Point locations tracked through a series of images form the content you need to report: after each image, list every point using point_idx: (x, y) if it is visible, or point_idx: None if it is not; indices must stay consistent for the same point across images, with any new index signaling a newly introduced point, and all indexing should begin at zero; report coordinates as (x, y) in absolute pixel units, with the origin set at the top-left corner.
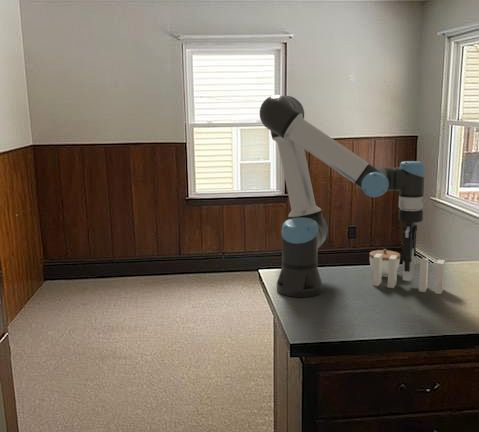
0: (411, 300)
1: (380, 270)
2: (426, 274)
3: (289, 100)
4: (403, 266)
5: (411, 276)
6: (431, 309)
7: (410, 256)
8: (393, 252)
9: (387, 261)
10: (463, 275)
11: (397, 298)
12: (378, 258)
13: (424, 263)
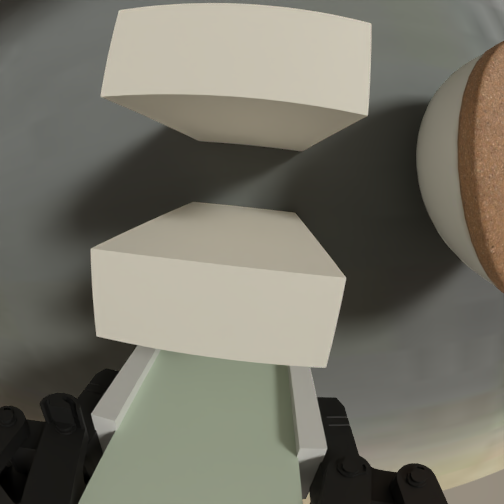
0: (46, 330)
1: (241, 132)
2: None
3: None
4: (114, 382)
5: None
6: (12, 382)
7: (17, 487)
8: None
9: (455, 193)
10: (447, 473)
11: (40, 271)
12: (112, 85)
13: None
